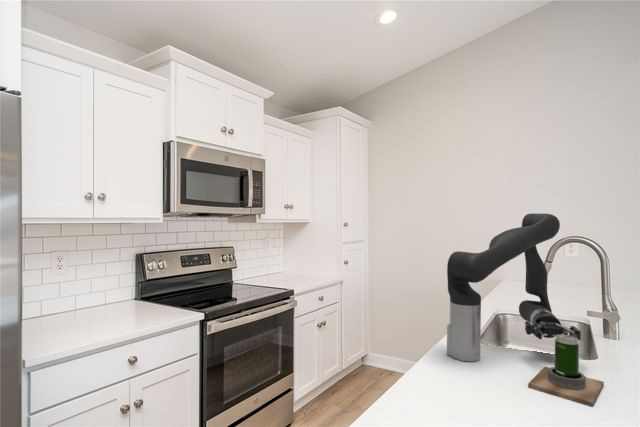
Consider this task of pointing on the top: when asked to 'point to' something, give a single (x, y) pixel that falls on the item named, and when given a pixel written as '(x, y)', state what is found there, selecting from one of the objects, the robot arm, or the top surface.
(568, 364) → the beer can
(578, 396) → the can holder
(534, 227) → the robot arm
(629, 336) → the top surface
